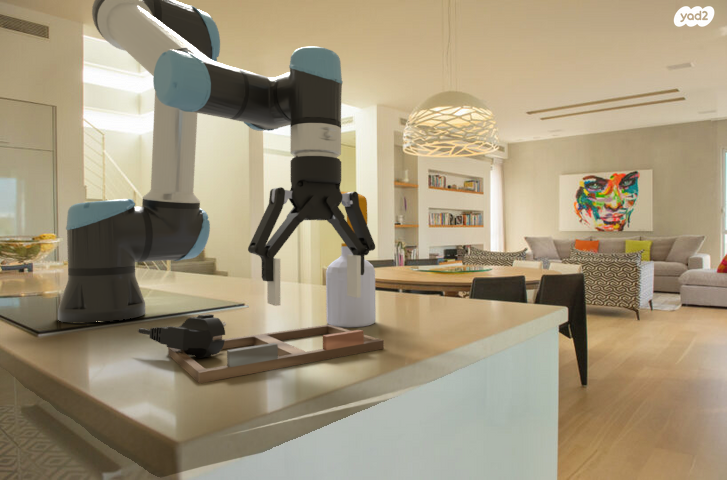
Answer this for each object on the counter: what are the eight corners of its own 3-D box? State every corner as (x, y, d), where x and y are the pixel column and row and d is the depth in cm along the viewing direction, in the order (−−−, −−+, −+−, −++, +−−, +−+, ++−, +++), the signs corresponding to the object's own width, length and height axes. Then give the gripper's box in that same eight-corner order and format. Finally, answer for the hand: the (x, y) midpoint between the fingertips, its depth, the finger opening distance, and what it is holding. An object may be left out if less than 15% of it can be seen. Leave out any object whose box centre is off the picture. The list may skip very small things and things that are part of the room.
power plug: (136, 310, 64) (198, 319, 59) (180, 307, 71) (240, 314, 66) (133, 351, 64) (195, 364, 59) (178, 344, 71) (238, 355, 65)
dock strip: (168, 355, 64) (167, 334, 64) (329, 331, 79) (329, 313, 79) (199, 383, 52) (199, 356, 52) (383, 348, 67) (383, 327, 67)
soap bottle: (359, 317, 93) (358, 193, 93) (384, 324, 85) (383, 189, 85) (318, 322, 88) (317, 192, 88) (341, 330, 80) (339, 187, 80)
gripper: (244, 145, 59) (244, 312, 59) (397, 161, 73) (396, 296, 74) (224, 152, 65) (225, 304, 66) (369, 166, 79) (369, 291, 80)
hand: (316, 300), depth 70 cm, fingers open, 13 cm apart
